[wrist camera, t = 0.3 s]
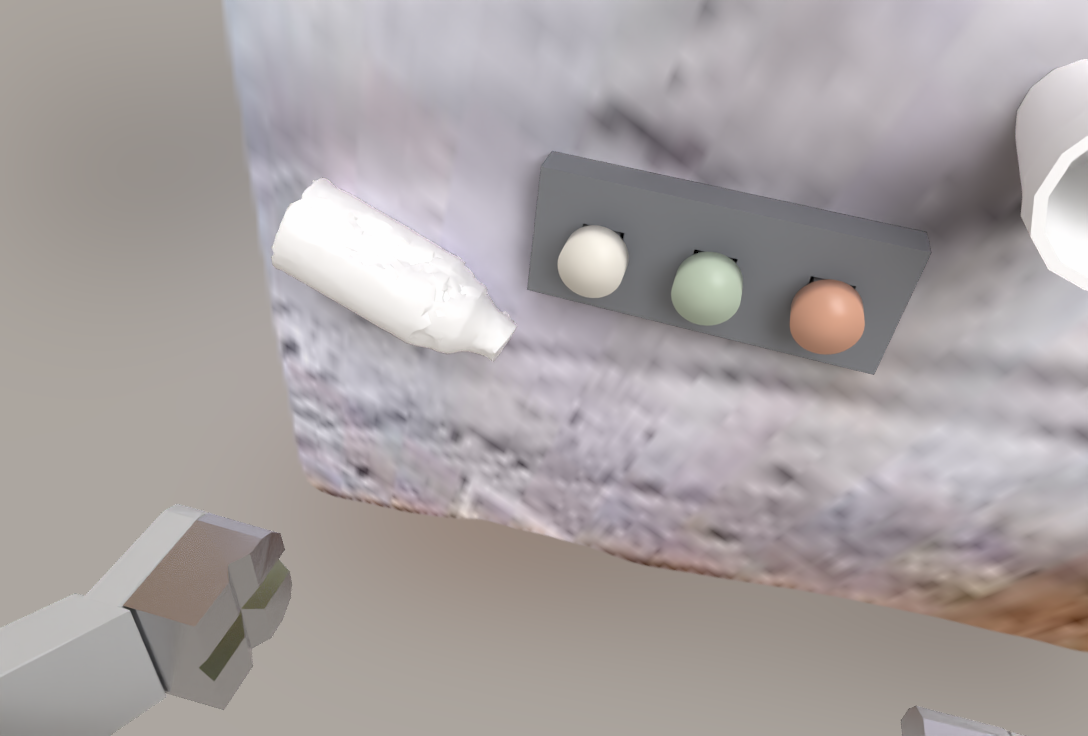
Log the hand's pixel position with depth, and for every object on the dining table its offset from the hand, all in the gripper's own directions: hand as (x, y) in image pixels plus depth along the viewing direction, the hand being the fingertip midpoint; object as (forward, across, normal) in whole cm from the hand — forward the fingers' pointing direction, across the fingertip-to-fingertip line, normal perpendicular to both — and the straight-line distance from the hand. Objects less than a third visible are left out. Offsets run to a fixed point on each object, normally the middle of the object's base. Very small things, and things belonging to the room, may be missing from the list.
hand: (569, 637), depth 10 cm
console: (+47, 0, +18) cm, 50 cm away
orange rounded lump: (+45, -8, +19) cm, 50 cm away
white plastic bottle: (+47, +23, +22) cm, 57 cm away
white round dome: (+45, +7, +18) cm, 49 cm away
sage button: (+45, -1, +18) cm, 49 cm away
